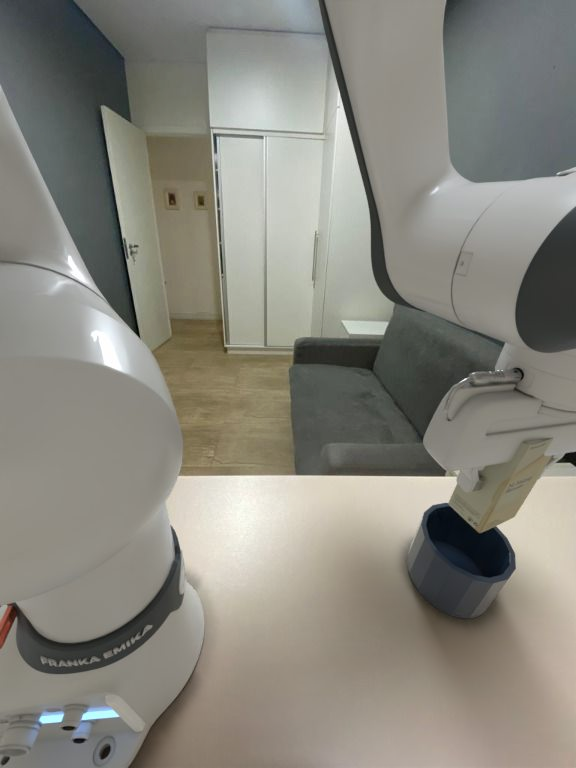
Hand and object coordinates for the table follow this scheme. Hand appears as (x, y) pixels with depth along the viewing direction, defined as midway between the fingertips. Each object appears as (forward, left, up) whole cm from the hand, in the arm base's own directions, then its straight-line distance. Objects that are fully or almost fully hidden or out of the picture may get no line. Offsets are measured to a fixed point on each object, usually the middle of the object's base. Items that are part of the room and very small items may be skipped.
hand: (497, 481), depth 33 cm
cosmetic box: (0, 0, -5) cm, 5 cm away
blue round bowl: (0, 0, -18) cm, 18 cm away
